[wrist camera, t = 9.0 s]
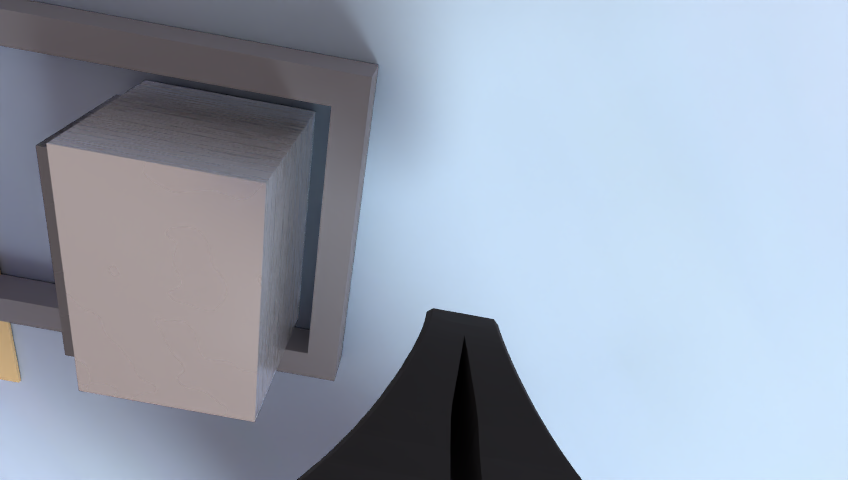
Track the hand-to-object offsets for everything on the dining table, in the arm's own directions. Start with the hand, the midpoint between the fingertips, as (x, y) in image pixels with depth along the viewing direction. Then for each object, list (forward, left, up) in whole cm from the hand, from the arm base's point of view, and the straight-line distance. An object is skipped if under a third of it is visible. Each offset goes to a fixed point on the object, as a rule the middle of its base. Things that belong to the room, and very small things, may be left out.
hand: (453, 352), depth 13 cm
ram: (+6, 0, -4) cm, 7 cm away
